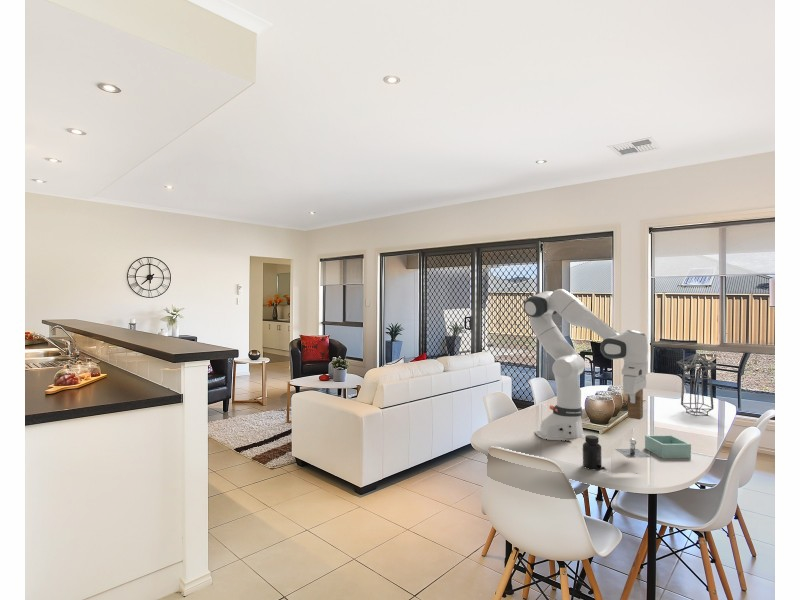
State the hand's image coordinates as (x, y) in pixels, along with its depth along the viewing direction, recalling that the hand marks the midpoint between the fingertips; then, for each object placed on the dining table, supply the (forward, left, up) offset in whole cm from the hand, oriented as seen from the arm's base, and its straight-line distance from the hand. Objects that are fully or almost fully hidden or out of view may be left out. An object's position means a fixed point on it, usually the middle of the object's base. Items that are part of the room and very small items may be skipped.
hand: (635, 401), depth 187 cm
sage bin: (+14, 0, -23) cm, 27 cm away
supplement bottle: (-24, -11, -23) cm, 35 cm away
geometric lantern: (+76, +67, -23) cm, 104 cm away
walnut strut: (0, 0, -7) cm, 7 cm away
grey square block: (-1, 0, -23) cm, 23 cm away
